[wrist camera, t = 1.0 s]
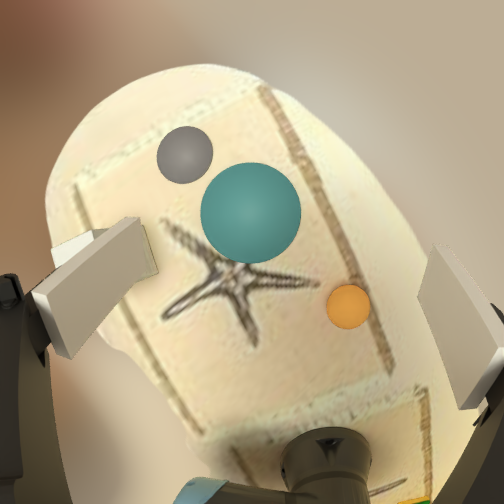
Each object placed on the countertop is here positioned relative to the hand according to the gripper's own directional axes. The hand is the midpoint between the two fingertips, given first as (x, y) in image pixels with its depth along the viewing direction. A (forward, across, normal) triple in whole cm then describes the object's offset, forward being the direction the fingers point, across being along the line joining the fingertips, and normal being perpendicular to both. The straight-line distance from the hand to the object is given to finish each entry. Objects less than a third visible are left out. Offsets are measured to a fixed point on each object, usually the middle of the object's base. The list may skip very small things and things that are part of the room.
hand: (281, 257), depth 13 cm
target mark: (+26, +6, +8) cm, 28 cm away
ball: (+20, -8, +17) cm, 27 cm away
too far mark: (+28, +16, +1) cm, 32 cm away
